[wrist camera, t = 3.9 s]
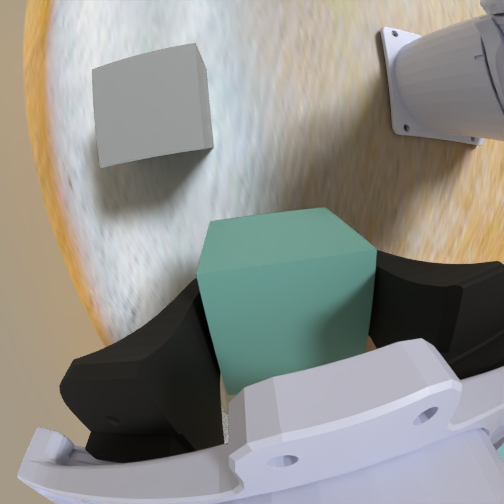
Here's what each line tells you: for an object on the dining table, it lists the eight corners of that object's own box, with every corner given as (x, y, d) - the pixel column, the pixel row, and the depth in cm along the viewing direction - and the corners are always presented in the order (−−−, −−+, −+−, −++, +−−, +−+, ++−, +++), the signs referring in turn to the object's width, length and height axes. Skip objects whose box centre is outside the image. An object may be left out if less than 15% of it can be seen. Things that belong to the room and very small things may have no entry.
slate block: (206, 69, 14) (195, 43, 9) (214, 147, 16) (204, 148, 11) (128, 85, 14) (92, 69, 9) (135, 159, 16) (100, 168, 11)
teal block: (325, 207, 12) (377, 248, 7) (326, 303, 14) (361, 372, 9) (210, 221, 12) (196, 274, 7) (228, 317, 14) (227, 395, 9)
